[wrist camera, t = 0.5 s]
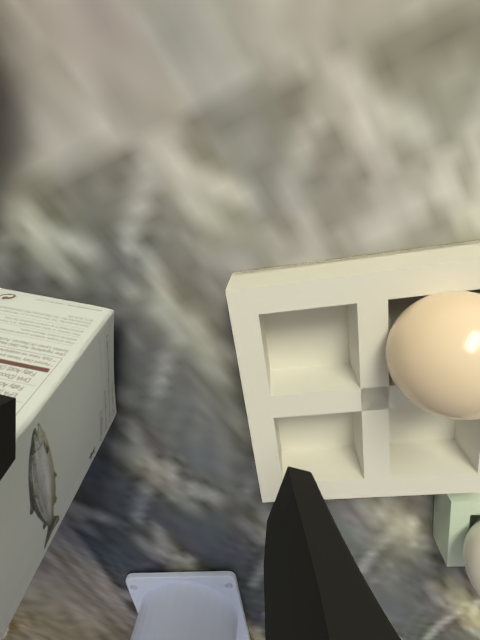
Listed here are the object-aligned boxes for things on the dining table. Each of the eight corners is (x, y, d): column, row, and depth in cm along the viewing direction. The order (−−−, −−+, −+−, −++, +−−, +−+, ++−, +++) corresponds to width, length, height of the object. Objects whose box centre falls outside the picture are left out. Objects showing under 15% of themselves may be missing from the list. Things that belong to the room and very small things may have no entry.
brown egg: (482, 372, 16) (560, 445, 12) (373, 381, 17) (408, 454, 13) (492, 268, 15) (587, 309, 10) (370, 283, 15) (410, 327, 11)
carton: (470, 447, 20) (502, 491, 18) (263, 460, 22) (262, 502, 19) (489, 238, 16) (534, 251, 13) (232, 272, 18) (225, 290, 15)
